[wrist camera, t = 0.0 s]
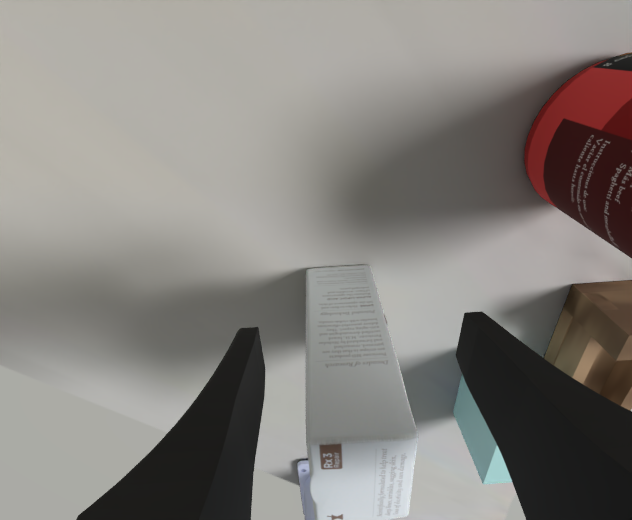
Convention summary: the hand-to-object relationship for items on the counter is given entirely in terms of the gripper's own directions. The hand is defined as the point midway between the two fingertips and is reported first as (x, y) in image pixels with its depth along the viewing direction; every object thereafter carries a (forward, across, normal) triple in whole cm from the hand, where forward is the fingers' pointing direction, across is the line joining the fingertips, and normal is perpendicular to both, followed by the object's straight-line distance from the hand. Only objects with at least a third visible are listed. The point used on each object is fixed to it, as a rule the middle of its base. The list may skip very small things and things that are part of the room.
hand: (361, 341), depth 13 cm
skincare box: (+10, 0, +6) cm, 12 cm away
